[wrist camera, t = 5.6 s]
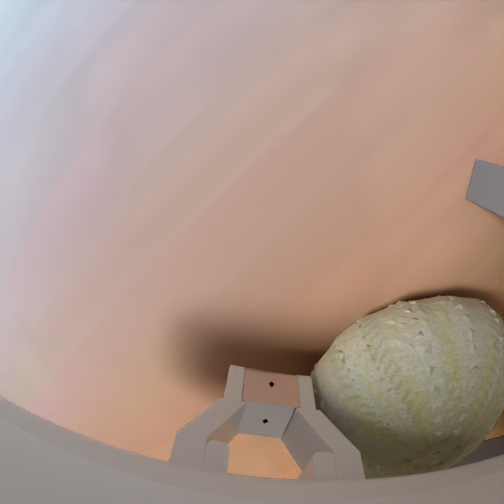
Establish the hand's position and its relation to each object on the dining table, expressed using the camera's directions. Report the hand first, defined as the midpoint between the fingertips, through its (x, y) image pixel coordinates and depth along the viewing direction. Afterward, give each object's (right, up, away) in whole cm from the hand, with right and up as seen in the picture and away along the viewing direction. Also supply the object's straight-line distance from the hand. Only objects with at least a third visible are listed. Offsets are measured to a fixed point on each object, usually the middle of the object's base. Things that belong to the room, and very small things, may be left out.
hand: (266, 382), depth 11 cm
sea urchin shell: (+6, -1, +2) cm, 6 cm away
